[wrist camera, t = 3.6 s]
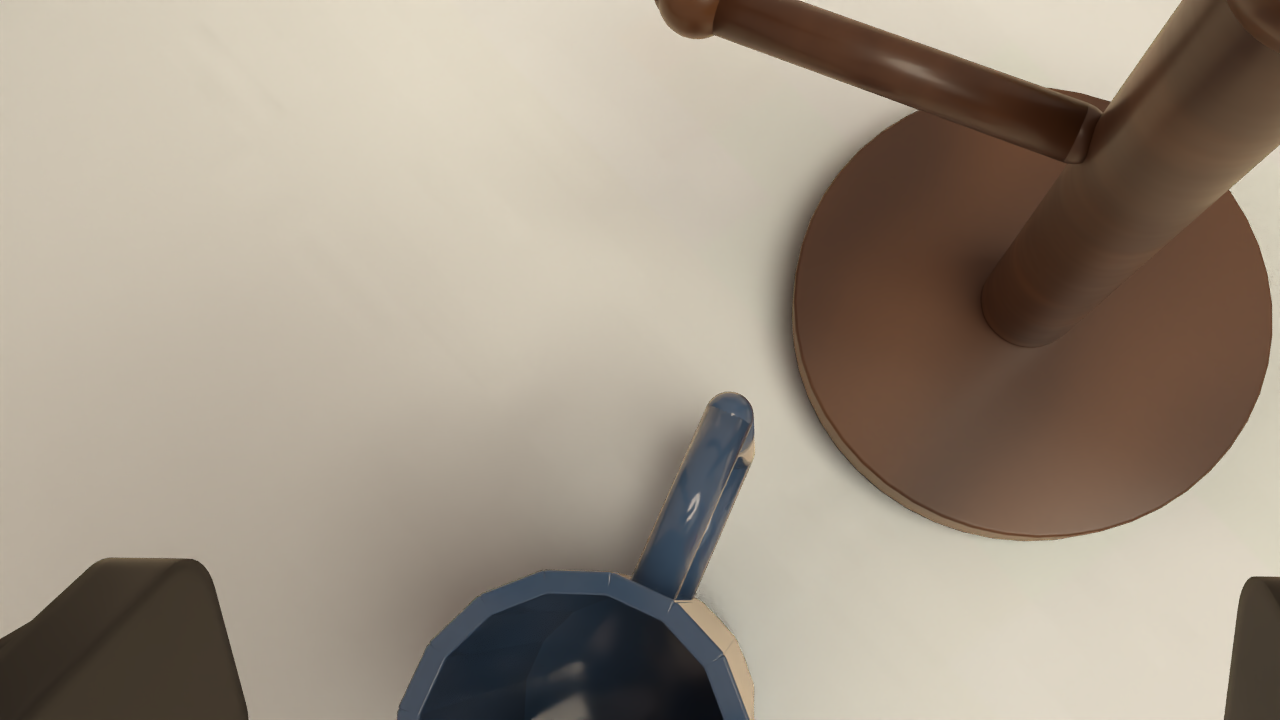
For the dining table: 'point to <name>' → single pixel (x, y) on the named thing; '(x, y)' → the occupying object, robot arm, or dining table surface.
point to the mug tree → (1033, 268)
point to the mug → (609, 619)
